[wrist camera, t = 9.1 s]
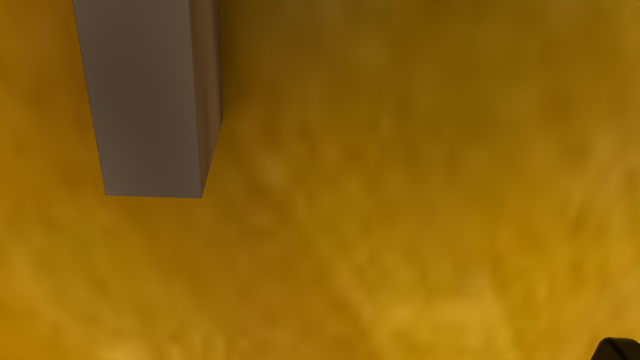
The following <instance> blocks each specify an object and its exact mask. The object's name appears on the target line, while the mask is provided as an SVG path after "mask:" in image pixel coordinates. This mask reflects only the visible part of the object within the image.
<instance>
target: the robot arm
mask: <svg viewBox="0 0 640 360" xmlns="http://www.w3.org/2000/svg"><path fill="white" fill-rule="evenodd" d="M591 360H640V344H639V343H638V342H637V341H635V340H633V339H629V338H613V337H607V338H604V339H603V340H601V341H600V343H599V344H598V346H597V348H596V350H595V352H594V354H593V356H592V358H591Z"/></svg>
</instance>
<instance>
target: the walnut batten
mask: <svg viewBox="0 0 640 360" xmlns="http://www.w3.org/2000/svg"><path fill="white" fill-rule="evenodd" d="M72 2H73V8H74V14H75V20H76V26H77V32H78V37H79V43H80V49H81V55H82V61H83V66H84V72H85V78H86V84H87V90H88V96H89V101H90V107H91V113H92V119H93V125H94V131H95V136H96V142H97V148H98V154H99V160H100V165H101V171H102V177H103V183H104V189H105V195H115V196H147V197H179V198H202V194H203V190H204V187H205V183H206V179H207V175H208V171H209V168H210V164H211V160H212V156H213V153H214V149H215V145H216V141H217V137H218V134H219V130H220V126H221V122H222V94H221V67H220V41H219V15H218V0H72Z"/></svg>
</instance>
